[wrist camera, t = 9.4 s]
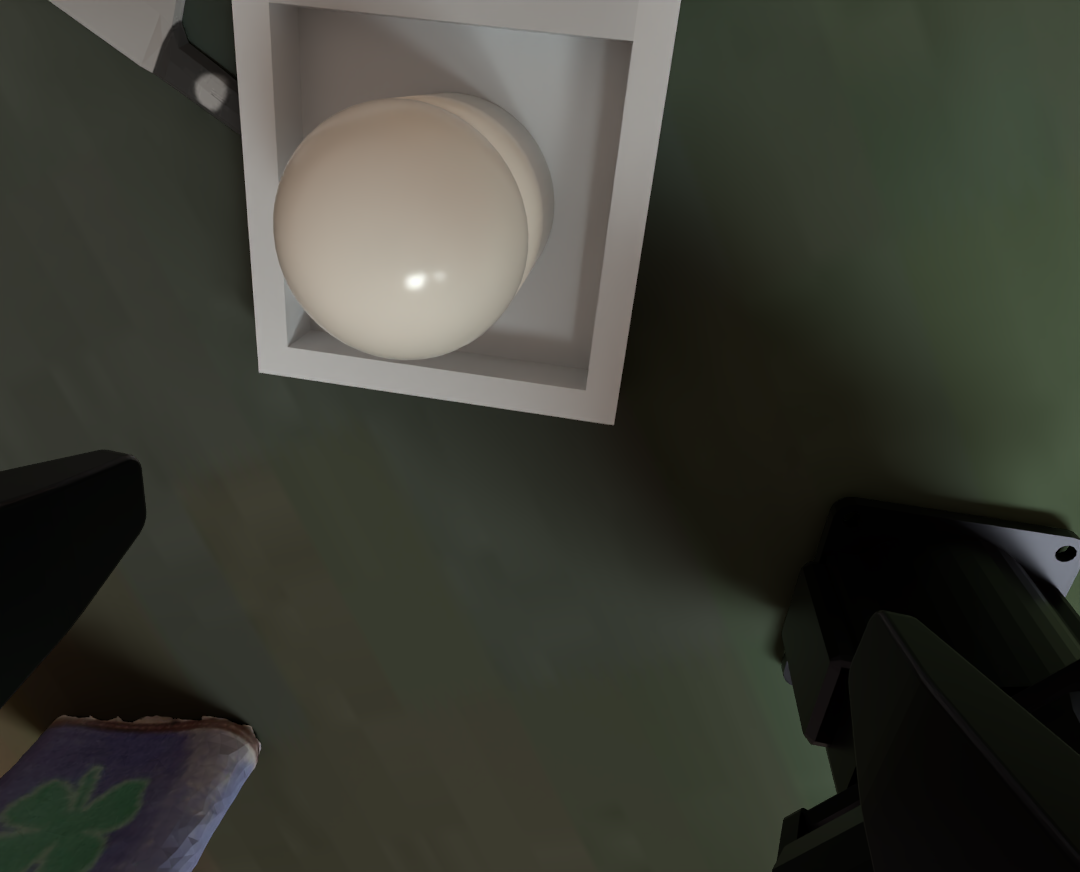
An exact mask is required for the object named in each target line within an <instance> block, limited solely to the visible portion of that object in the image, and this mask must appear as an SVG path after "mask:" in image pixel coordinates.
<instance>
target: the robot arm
mask: <svg viewBox="0 0 1080 872" xmlns="http://www.w3.org/2000/svg"><path fill="white" fill-rule="evenodd" d="M854 512H855V513H858V516H857V517H856V518H855V519H853V520H851V521H845V520H843V517H844V516H845V515H846V514H848V513H854ZM145 520H146V503H145V494H144V485H143V476H142V468H141V464H140V462H139V460H138V459H137V458H136V457H134V456H133V455H129V454H125V453H120V452H115V451H110V450H97V451H93V452H88V453H83V454H79V455H74V456H69V457H65V458H60V459H56V460H51V461H46V462H42V463H37V464H32V465H28V466H23V467H19V468H14V469H9V470H5V471H0V709H1V707H2V706H3V705H4V704H5V703H6V702H7V701H8V699H9V698H10V697H11V696H12V695H13V694H14V693H15V692H16V690H17V689H18V688H19V687H20V686H21V685H22V684H23V683H24V681H25V680H26V679H27V678H28V677H29V676H30V675H31V673H32V672H33V671H34V670H35V669H36V668H37V667H38V666H39V664H40V663H41V662H42V661H43V660H44V659H45V658H46V656H47V655H48V654H49V653H50V652H51V651H52V650H53V649H54V647H55V646H56V645H57V644H58V643H59V642H60V640H61V639H62V638H63V637H64V636H65V635H66V633H67V632H68V631H69V630H70V629H71V627H72V626H73V625H74V623H75V622H76V621H77V619H78V618H79V617H80V616H81V614H82V613H83V612H84V610H85V609H86V608H87V606H88V605H89V603H90V602H91V601H92V599H93V598H94V596H95V595H96V594H97V592H98V591H99V589H100V588H101V587H102V585H103V584H104V583H105V581H106V580H107V578H108V577H109V576H110V574H111V573H112V571H113V570H114V569H115V567H116V566H117V564H118V563H119V562H120V560H121V559H122V557H123V556H124V555H125V553H126V552H127V551H128V549H129V548H130V546H131V545H132V544H133V542H134V541H135V539H136V538H137V537H138V535H139V534H140V532H141V530H142V528H143V526H144V523H145ZM1063 546H1069V547H1068V548H1067V550H1066V551H1064V552H1062V553H1056V551H1057V550H1058V549H1059V548H1061V547H1063ZM1079 569H1080V538H1079V537H1078V536H1077V535H1076V534H1075V533H1074V532H1072V531H1069V530H1065V529H1059V528H1052V527H1045V526H1039V525H1032V524H1026V523H1019V522H1013V521H1006V520H1000V519H993V518H987V517H980V516H974V515H967V514H960V513H954V512H947V511H941V510H934V509H928V508H921V507H915V506H908V505H902V504H895V503H889V502H882V501H876V500H869V499H862V498H856V497H846V498H843V499H840V500H838V501H837V502H836V503H834V504H833V506H832V508H831V509H830V512H829V515H828V518H827V521H826V525H825V528H824V531H823V534H822V537H821V540H820V543H819V547H818V550H817V553H816V556H815V559H814V562H809V563H807V564H806V565H805V566H803V567H802V568H801V571H800V574H799V578H798V581H797V584H796V587H795V590H794V594H793V597H792V600H791V603H790V607H789V610H788V613H787V616H786V619H785V623H784V626H783V629H782V639H783V644H784V648H785V654H784V657H783V660H782V672H783V676H784V678H785V680H786V681H787V682H788V683H789V684H790V685H793V689H794V694H795V699H796V703H797V708H798V712H799V717H800V721H801V726H802V731H803V734H804V736H805V737H806V738H807V740H808V741H809V743H810V744H812V745H818V746H823V747H826V751H827V755H828V759H829V763H830V767H831V771H832V775H833V780H834V784H835V788H836V792H837V794H836V795H834V796H833V797H831V798H829V799H827V800H825V801H824V802H822V803H820V804H818V805H816V806H815V807H813V808H811V809H809V810H806V809H805V808H801V809H799V810H797V811H796V812H794V813H792V814H790V815H789V816H787V817H785V818H784V820H783V825H782V831H781V838H780V844H779V850H778V857H777V862H776V864H775V865H774V867H773V869H772V872H1080V616H1079V615H1078V614H1077V613H1076V611H1075V610H1074V609H1073V607H1072V606H1071V605H1070V603H1069V602H1068V601H1067V600H1066V598H1065V597H1066V595H1067V593H1068V591H1069V589H1070V587H1071V585H1072V583H1073V581H1074V579H1075V577H1076V575H1077V573H1078V571H1079Z"/></svg>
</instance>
